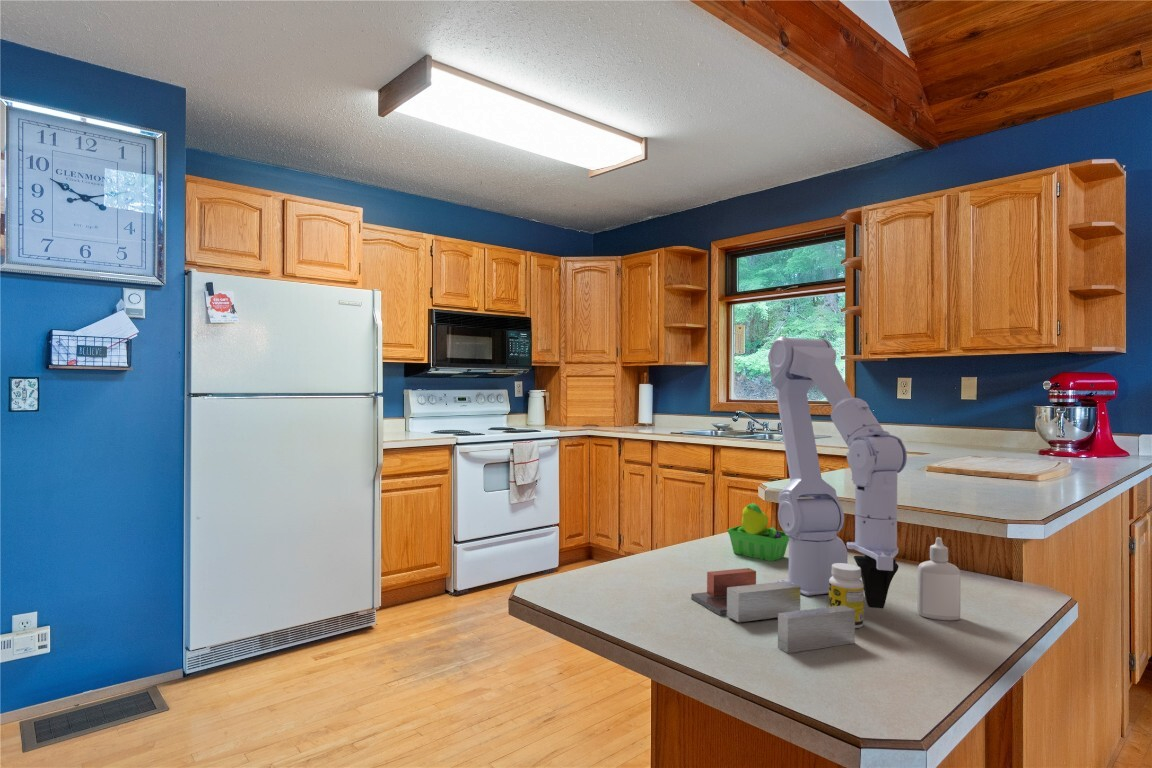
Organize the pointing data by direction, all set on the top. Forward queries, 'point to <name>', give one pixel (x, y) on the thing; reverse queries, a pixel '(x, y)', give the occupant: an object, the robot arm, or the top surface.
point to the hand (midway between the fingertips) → (875, 606)
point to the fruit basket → (757, 536)
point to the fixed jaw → (816, 628)
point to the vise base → (712, 602)
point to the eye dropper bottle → (938, 586)
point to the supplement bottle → (847, 589)
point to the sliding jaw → (752, 595)
